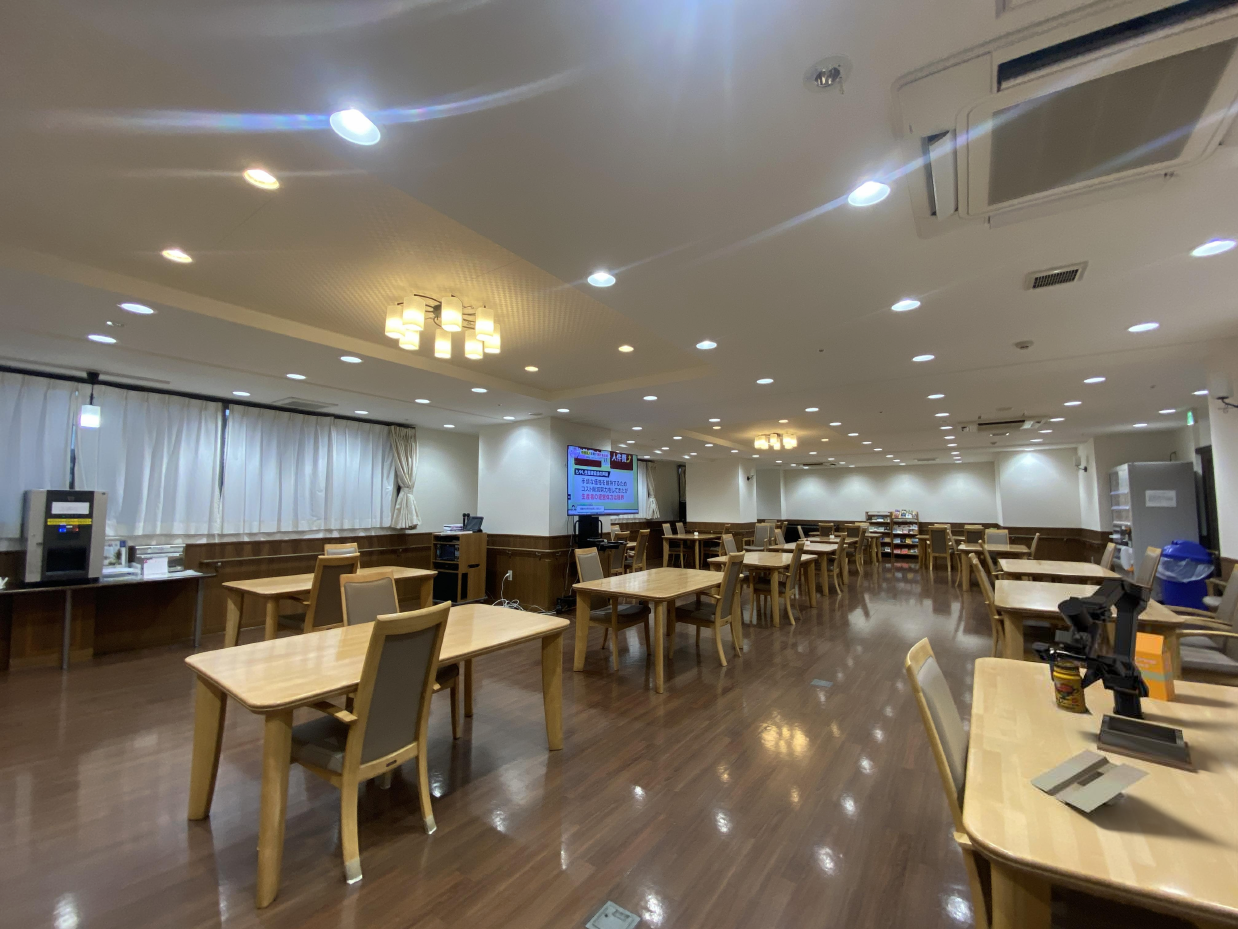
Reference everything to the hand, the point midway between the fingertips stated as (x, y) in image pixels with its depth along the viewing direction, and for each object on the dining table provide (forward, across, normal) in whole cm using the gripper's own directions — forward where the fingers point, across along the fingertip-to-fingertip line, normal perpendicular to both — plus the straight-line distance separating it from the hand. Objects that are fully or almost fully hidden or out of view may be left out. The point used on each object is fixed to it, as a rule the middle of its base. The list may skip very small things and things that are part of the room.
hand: (1067, 684), depth 134 cm
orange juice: (-33, -4, +54) cm, 63 cm away
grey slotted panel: (+35, +18, -17) cm, 43 cm away
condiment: (+4, 0, +6) cm, 7 cm away
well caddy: (+4, +11, +15) cm, 19 cm away
